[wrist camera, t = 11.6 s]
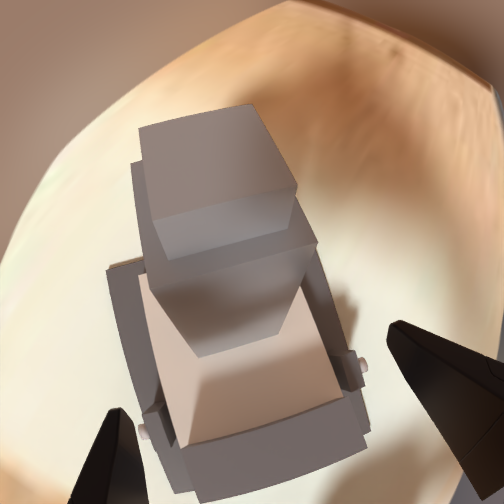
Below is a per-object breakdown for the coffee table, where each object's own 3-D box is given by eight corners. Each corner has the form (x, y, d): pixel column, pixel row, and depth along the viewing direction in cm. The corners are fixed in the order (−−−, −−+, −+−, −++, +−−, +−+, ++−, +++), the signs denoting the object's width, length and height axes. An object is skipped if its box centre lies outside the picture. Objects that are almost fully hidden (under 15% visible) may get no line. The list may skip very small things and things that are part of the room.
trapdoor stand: (368, 430, 20) (394, 442, 16) (175, 491, 18) (168, 517, 14) (302, 220, 24) (318, 197, 20) (107, 271, 22) (87, 257, 18)
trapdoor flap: (356, 440, 16) (375, 443, 14) (197, 492, 15) (190, 505, 12) (279, 241, 23) (284, 217, 20) (140, 278, 21) (127, 258, 18)
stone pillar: (278, 334, 19) (334, 201, 8) (198, 358, 18) (127, 254, 7) (252, 263, 21) (265, 89, 10) (178, 284, 20) (116, 121, 9)
